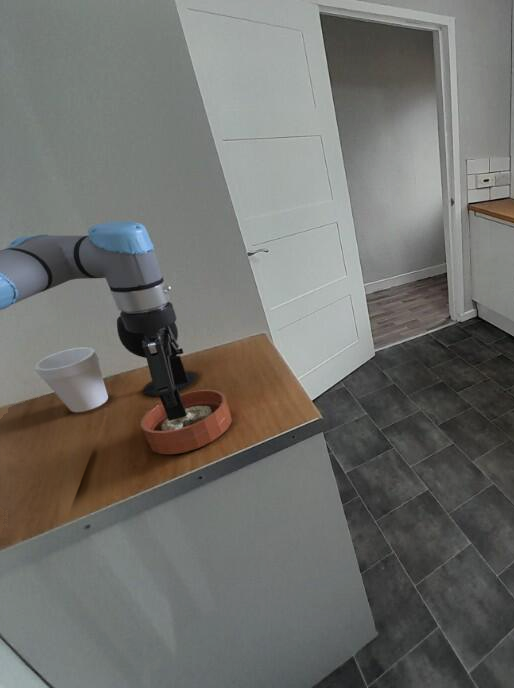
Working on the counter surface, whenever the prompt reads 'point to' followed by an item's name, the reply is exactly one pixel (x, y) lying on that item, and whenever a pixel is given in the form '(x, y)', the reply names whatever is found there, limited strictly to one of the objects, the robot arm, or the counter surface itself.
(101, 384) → the foam cup
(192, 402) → the bowl
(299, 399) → the counter surface
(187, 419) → the cake
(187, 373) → the wine glass
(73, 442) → the counter surface
